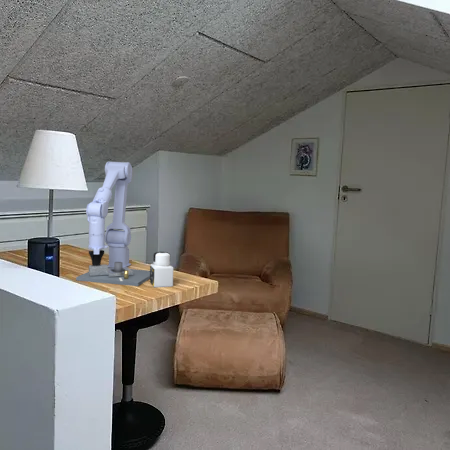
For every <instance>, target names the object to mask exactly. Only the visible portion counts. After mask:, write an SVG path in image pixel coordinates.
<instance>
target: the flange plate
mask: <svg viewBox="0 0 450 450" xmlns="http://www.w3.org/2000/svg"><path fill="white" fill-rule="evenodd" d="M107 265H108V264H106V263H105V264H100V265H92V264H89V265H88V272H89V275H90V276H97V275H108V276H109V277H114V276H124V270H128V271H129V275H133V273H134V272H133V271H131V270H130V269H131V268H129V266H127V267H122V272H114V268H108V266H107Z"/></svg>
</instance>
